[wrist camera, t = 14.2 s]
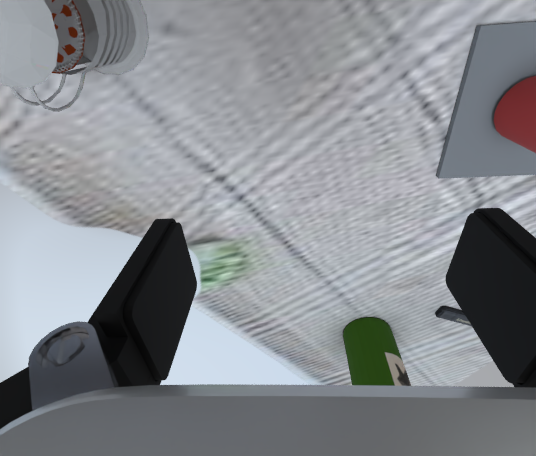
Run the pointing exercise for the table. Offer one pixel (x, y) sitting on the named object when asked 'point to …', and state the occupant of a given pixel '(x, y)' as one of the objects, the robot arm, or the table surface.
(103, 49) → the french press
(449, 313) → the usb stick
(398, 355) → the wine bottle
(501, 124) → the beer can
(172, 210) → the table surface
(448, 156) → the mat
